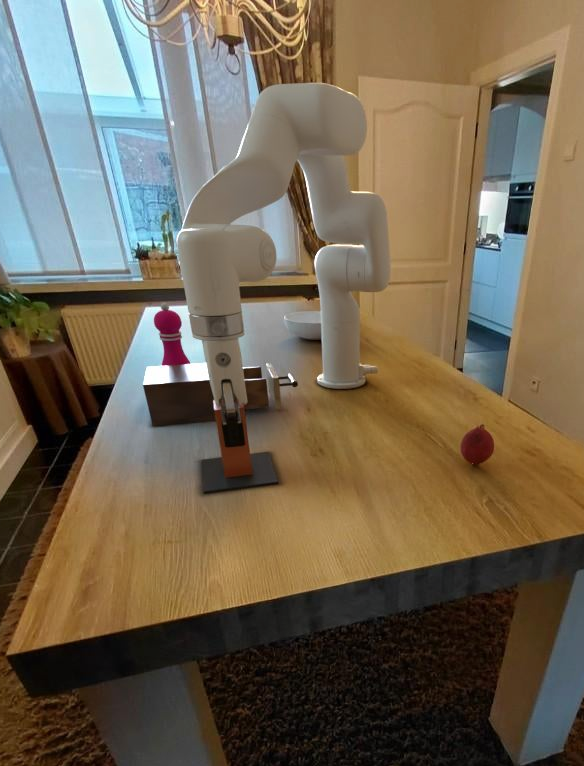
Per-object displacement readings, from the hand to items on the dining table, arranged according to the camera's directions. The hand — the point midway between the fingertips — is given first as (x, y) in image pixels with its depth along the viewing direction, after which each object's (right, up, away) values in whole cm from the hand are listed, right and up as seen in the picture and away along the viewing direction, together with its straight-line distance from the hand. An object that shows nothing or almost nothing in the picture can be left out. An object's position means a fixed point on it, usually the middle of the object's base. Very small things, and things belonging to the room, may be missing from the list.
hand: (233, 437), depth 82 cm
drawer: (-3, +13, +31) cm, 33 cm away
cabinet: (-17, +10, +27) cm, 34 cm away
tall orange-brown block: (0, -5, +3) cm, 6 cm away
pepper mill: (-24, +18, +40) cm, 50 cm away
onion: (+42, -4, +7) cm, 43 cm away
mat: (0, -6, +4) cm, 7 cm away
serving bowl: (+5, +48, +88) cm, 100 cm away
